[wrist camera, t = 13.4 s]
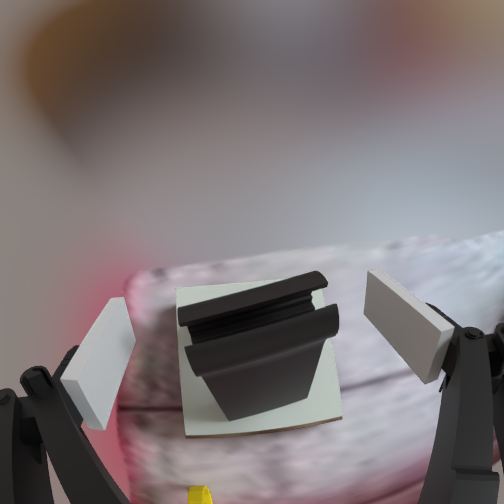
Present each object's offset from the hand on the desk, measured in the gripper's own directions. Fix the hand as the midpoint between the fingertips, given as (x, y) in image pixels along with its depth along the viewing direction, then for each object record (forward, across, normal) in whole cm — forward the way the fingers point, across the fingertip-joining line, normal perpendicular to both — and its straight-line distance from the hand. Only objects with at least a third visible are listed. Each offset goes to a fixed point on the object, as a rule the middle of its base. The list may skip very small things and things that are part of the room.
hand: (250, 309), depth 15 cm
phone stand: (+5, 0, -7) cm, 8 cm away
